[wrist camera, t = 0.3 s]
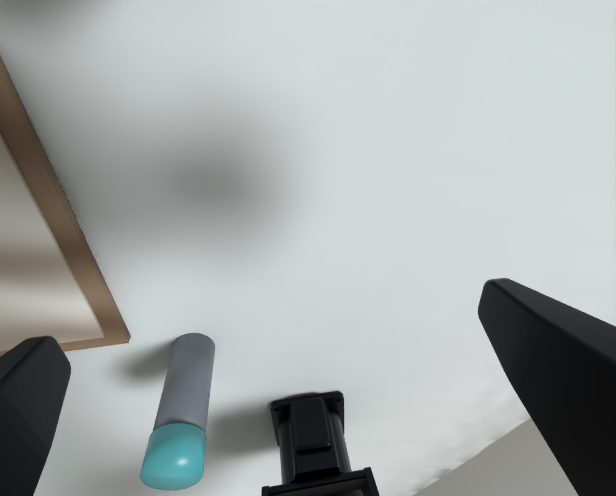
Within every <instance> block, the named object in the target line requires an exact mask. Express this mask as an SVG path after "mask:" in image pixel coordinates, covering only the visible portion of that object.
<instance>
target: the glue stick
mask: <svg viewBox="0 0 616 496" xmlns="http://www.w3.org/2000/svg"><path fill="white" fill-rule="evenodd" d="M214 353H215V344H214V342H213V341H212V340H211V339H210V338H209V337H207V336H205V335H202V334H197V333H191V334H186V335H183V336H181V337H179V338H178V339H177V340H176V341H175V343H174V346H173V350H172V354H171V358H170V362H169V366H168V370H167V375H166V379H165V383H164V387H163V391H162V395H161V399H160V404H159V408H158V412H157V416H156V420H155V424H154V428H153V432H152V433H151V435H150V437H149V441H148V445H147V449H146V453H145V458H144V462H143V466H142V470H141V474H140V478H141V480H142V482H143V483H144V484H146V485H147V486H149V487H152V488H155V489H159V490H179V489H184V488H187V487H190V486H192V485H194V484H196V483H197V482H199V481H200V479H201V478H202V475H203V466H204V457H205V448H206V434H205V432H206V423H207V415H208V406H209V397H210V388H211V380H212V371H213V362H214Z"/></svg>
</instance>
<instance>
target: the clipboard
mask: <svg viewBox="0 0 616 496" xmlns="http://www.w3.org/2000/svg"><path fill="white" fill-rule="evenodd" d="M46 335H49V336H52V337H54V338H55V339H56V340H57V342H58V344H59V345H60V347H61V349H62V350H63V352H64V351H72V350H79V349H87V348H94V347H102V346H109V345H116V344H124V343H129V340H130V337H131V336H130V334H129V331H128V329H127V327H126V325H125V323H124V321H123V319H122V316H121V314H120V312H119V310H118V308H117V306H116V304H115V301H114V299H113V297H112V295H111V293H110V291H109V289H108V286H107V284H106V282H105V280H104V278H103V276H102V274H101V271H100V269H99V267H98V265H97V263H96V261H95V259H94V256H93V254H92V252H91V250H90V248H89V246H88V244H87V241H86V239H85V237H84V235H83V233H82V231H81V229H80V226H79V224H78V222H77V220H76V218H75V216H74V213H73V211H72V209H71V207H70V205H69V203H68V201H67V198H66V196H65V194H64V192H63V190H62V188H61V186H60V183H59V181H58V179H57V177H56V175H55V173H54V171H53V168H52V166H51V164H50V162H49V160H48V158H47V156H46V153H45V151H44V149H43V147H42V145H41V143H40V141H39V138H38V136H37V134H36V132H35V130H34V128H33V126H32V123H31V121H30V119H29V117H28V115H27V113H26V111H25V108H24V106H23V104H22V102H21V100H20V98H19V95H18V93H17V91H16V89H15V87H14V85H13V83H12V80H11V78H10V76H9V74H8V72H7V70H6V68H5V65H4V63H3V61H2V59H1V57H0V356H2V355H3V354H5V353H6V352H8V351H9V350H11V349H12V348H13V347H15V346H16V345H18V344H19V343H21V342H22V341H24V340H25V339H27V338H31V337H38V336H46Z"/></svg>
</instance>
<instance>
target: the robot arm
mask: <svg viewBox="0 0 616 496" xmlns="http://www.w3.org/2000/svg"><path fill="white" fill-rule="evenodd" d="M478 316H479V319H480V321H481V323H482V326H483V328H484V330H485V332H486V334H487V336H488V338H489V340H490V342H491V344H492V347H493V349H494V351H495V353H496V355H497V357H498V359H499V361H500V363H501V365H502V368H503V370H504V372H505V374H506V376H507V377H508V379H509V381H510V383H511V385H512V386H513V388H514V390H515V392H516V393H517V395H518V397H519V398H520V400H521V402H522V403H523V405H524V407H525V408H526V410H527V411H528V413H529V415H530V416H531V418H532V419H533V421H534V423H535V425H536V426H537V428H538V429H539V431H540V433H541V434H542V436H543V438H544V439H545V441H546V442H547V444H548V446H549V448H550V449H551V451H552V452H553V454H554V456H555V457H556V459H557V461H558V462H559V464H560V465H561V467H562V469H563V471H564V472H565V474H566V476H567V477H568V479H569V481H570V482H571V484H572V485H573V487H574V489H575V490H576V492H577V494H578V495H579V496H616V326H613V325H611V324H609V323H607V322H604V321H602V320H600V319H598V318H595V317H593V316H591V315H589V314H586V313H584V312H582V311H580V310H578V309H575V308H573V307H571V306H569V305H566V304H564V303H562V302H560V301H557V300H555V299H553V298H551V297H548V296H546V295H544V294H542V293H539V292H537V291H535V290H533V289H530V288H528V287H526V286H524V285H521V284H519V283H517V282H515V281H512V280H510V279H508V278H499V279H491V280H488V281H487V282H486V283H485V284H484V287H483V291H482V295H481V299H480V302H479V306H478ZM70 375H71V365H70V362H69V360H68V358H67V357H66V355H65V353H64V352H63V350H62V349H61V347H60V345H59V344H58V342H57V340H56V339H55V338H54V337H52V336H49V335H46V336H38V337H31V338H27V339H25V340H24V341H22V342H21V343H19V344H18V345H16V346H15V347H13V348H12V349H11V350H9V351H8V352H6V353H5V354H3V355H2V356H0V496H33V494H34V492H35V489H36V487H37V484H38V481H39V479H40V476H41V473H42V471H43V468H44V465H45V463H46V460H47V457H48V454H49V451H50V448H51V445H52V442H53V438H54V435H55V431H56V427H57V424H58V420H59V416H60V412H61V409H62V405H63V401H64V397H65V394H66V390H67V386H68V383H69V379H70ZM270 407H271V415H272V420H273V425H274V430H275V435H276V440H277V445H278V446H280V460H281V476H282V485H277V486H272V487H269V486H264V487H262V496H379V492H378V489H377V486H376V483H375V480H374V477H373V474H372V471H371V467H366V468H364V469H363V470H357V471H351V466H350V461H349V457H348V452H347V448H346V443H345V439H344V397H343V394H342V393H332V394H325V395H318V396H312V397H305V398H299V399H292V400H285V401H279V402H274V403H272V404H271V406H270Z"/></svg>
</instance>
